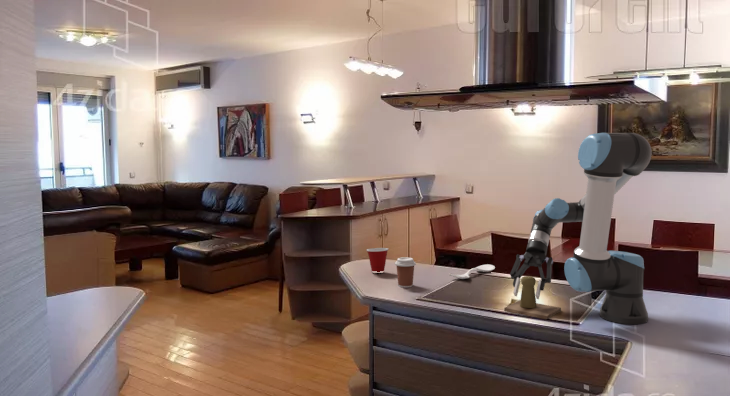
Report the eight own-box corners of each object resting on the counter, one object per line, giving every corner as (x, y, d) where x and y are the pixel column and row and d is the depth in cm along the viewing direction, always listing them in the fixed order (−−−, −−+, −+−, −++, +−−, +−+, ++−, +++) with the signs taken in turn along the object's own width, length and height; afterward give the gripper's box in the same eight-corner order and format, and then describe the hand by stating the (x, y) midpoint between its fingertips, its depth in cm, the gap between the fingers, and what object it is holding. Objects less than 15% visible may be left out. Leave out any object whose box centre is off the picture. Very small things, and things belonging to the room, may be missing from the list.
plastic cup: (380, 269, 273) (380, 245, 272) (393, 273, 264) (393, 248, 263) (362, 272, 267) (362, 247, 266) (374, 276, 258) (374, 251, 257)
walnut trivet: (560, 310, 200) (560, 307, 200) (546, 319, 190) (546, 316, 190) (519, 303, 210) (519, 300, 210) (504, 310, 200) (504, 307, 200)
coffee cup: (415, 288, 234) (415, 261, 233) (394, 288, 236) (393, 260, 235) (416, 283, 243) (416, 256, 242) (396, 282, 245) (396, 256, 244)
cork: (537, 308, 198) (537, 278, 198) (520, 307, 199) (520, 277, 199) (535, 304, 204) (535, 275, 203) (518, 303, 205) (519, 274, 205)
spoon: (448, 280, 250) (448, 272, 249) (482, 268, 274) (482, 261, 274) (465, 283, 244) (465, 275, 243) (498, 270, 268) (498, 263, 268)
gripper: (566, 253, 209) (556, 304, 196) (513, 248, 219) (500, 297, 207) (563, 241, 204) (553, 293, 191) (509, 237, 214) (496, 286, 202)
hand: (526, 295), depth 199 cm, fingers open, 7 cm apart
